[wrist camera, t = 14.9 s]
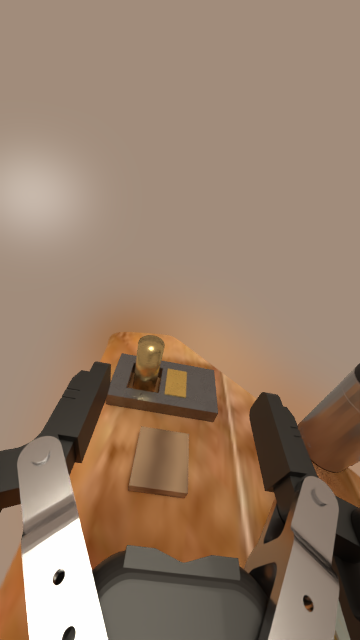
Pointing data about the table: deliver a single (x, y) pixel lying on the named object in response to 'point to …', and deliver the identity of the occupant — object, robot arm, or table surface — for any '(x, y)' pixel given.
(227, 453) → the table surface
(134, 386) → the peg
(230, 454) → the table surface
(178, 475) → the pad
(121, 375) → the rack plate
